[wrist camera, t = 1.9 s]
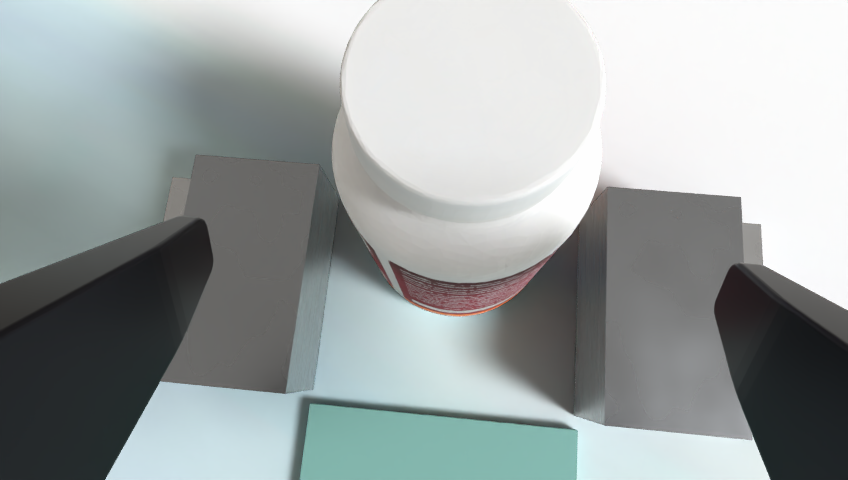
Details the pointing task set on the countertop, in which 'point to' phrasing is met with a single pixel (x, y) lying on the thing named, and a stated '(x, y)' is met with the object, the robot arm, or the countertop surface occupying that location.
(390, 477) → the mat
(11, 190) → the countertop surface
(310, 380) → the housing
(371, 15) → the pill bottle
